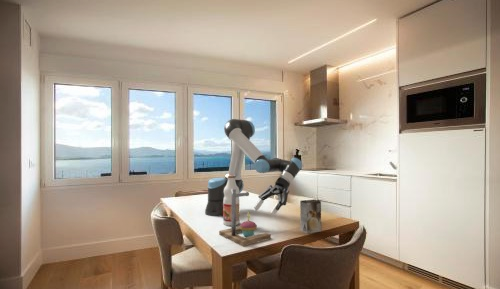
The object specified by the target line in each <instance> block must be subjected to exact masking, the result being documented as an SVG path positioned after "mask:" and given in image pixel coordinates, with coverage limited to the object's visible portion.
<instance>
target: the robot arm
mask: <svg viewBox="0 0 500 289" xmlns="http://www.w3.org/2000/svg"><path fill="white" fill-rule="evenodd" d="M223 127H224V134H225V136H226V137H227V138H228V139H229V140H230V141H233V147H232V152H231V156H230V163H229V167H228V168H229V169H228V172H227V174H225V177H220V176H219V177H214V178H210V179H209V180H208V181H207V204H206V207H205V209H204V210H205V211H204V214H205V215H207V216H212V217H213V216H214V217H217V216H223V199H224V188H225V186H226V185H227V182H228V178H227V176H228V175H235V176H236V178H235V182H236V185H237V186H238V188H239V193H242V192H243V189H244V181H243V177H242V176H241V173H242V168H243V163H244V159H245V155H246V156H247V158H249V159H250V161H251V162H252V163H254V169H255V171H256V173H260V174H266V173H274V172H275V173H277V172H280V175H279V176H278V178H277V179H276V181H274V186H272V184H271V185H269V186H268V187H267V188H266V189H265V190H264V191H263V192H261V193H260V194H259V195H257V196H258V198H259V199H258V201H257V202H256V204H255V205H254V207H253V209H254V210H255V211H256V212H258V211H259V209H260V208H261V206H262V205H263V204H264V202H265V200H267V199H269V198H271V197H272V196H277V199H278V202H276V204H275V205H274V206H273V208H272V210H271V211H270V214H271V215H272V217H275V216H276V214H277V212H278V211H279V210H280V209H281V208H282V207H283V206H286V205H287V203H288V202H287V201H288V196H289V195H288V194H289V193H290V190H289V187H290V185H292V182H293V181H294V179H295V178H296V176H297V175H298V174H299V172H300V170H301V169H302V167H303V162H302V161H301V160H300V159H299V158H298V157H292V158H291V159H290V160H286V159H282V158H278V157H272V158H270V159H269V158H268V157H267V156H266V155H264V153H262V152H261V151H260V149H259V148H258V147H257V146H256V145H255V144H254V143H253V142H252V141H251V140H250V139H251V138H252V137H253V136H254V135H255V133H256V128H255V124H254V123H253V121H250V120H247V119H238V118H237V119H236V118H231V119H229V120H228V121H226V123H225V124H224V126H223Z"/></svg>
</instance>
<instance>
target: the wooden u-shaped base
mask: <svg viewBox="0 0 500 289" xmlns="http://www.w3.org/2000/svg"><path fill="white" fill-rule="evenodd" d="M240 233H243V232H242V230H241V229H240V225H239V226H236V235H235V236H232V227H230V228H227V229H226V228H225V229H221V230H219V231H218V235H219V236H221V237H223V238H225V239H227V240H229V241H231V242H233V243H235V244H236V245H239V246H240V247H244V246H248V244H249V245H251V244H255V243H260V242H263V241H267V240H270V239H272V238H271V236H272V235H271V233H268V232H263V233H258V234H255V235H254V234H253V236H250V237H245V236H241V235H240Z"/></svg>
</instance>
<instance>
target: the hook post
mask: <svg viewBox="0 0 500 289" xmlns="http://www.w3.org/2000/svg"><path fill="white" fill-rule="evenodd" d="M249 196H250V193H249V191H245V192H240V193H237V194H236V189H232V226H231V228H232V236H235V235H236V234H237V233H236V227H237V225H236V197H239V198H240V197H249Z"/></svg>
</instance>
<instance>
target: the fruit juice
mask: <svg viewBox="0 0 500 289" xmlns="http://www.w3.org/2000/svg"><path fill="white" fill-rule="evenodd" d="M227 178H228V182H227V185H226V186H225V188H224V199H223V215H222V219H223V222H222V224H223V225H225V226H229V227H230V226H231V227H232V189H236V194H237V193H239V188H238V186H237V185H236V182H235V178H236V176H235V175H228V176H227ZM239 224H240V197H236V226H238V225H239Z"/></svg>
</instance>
